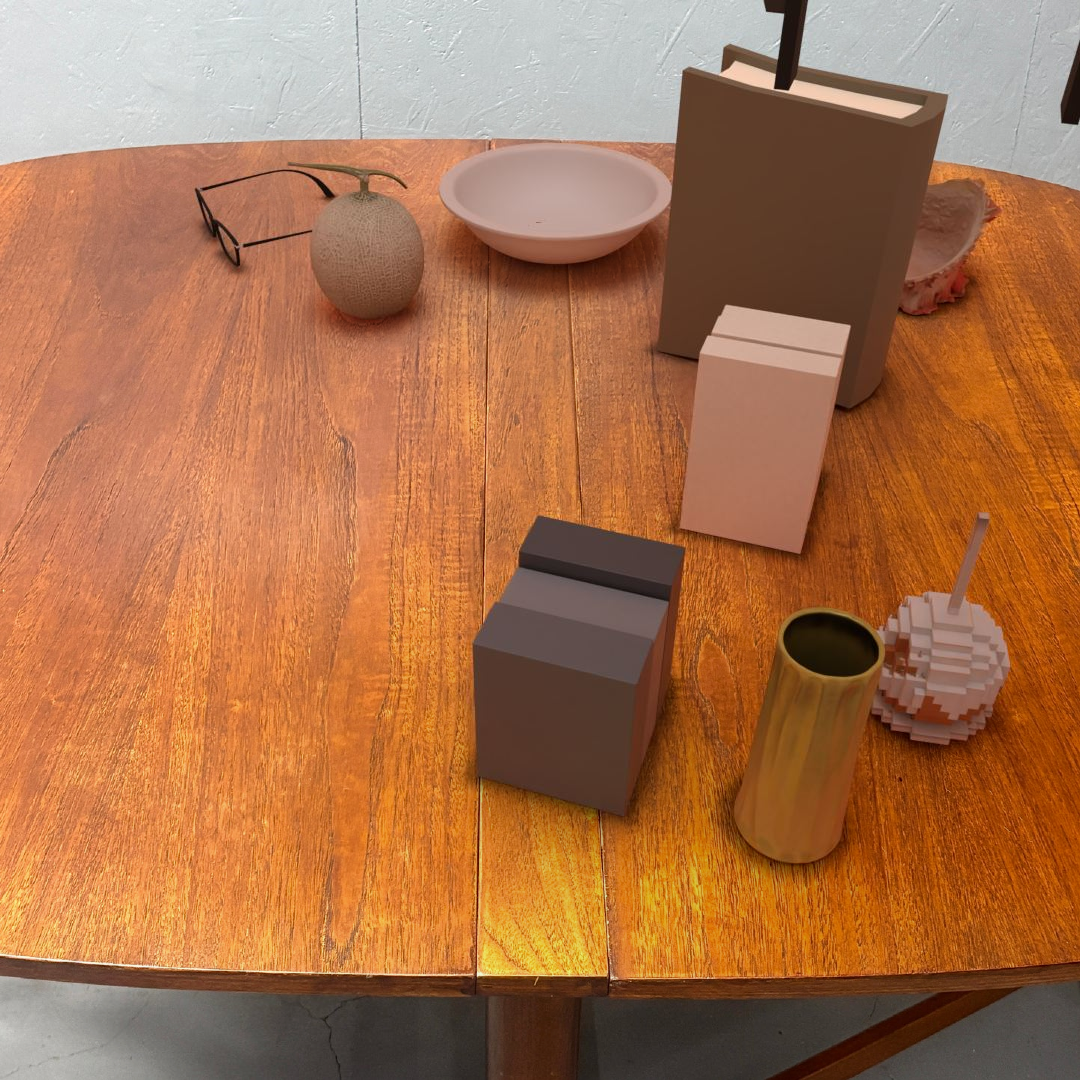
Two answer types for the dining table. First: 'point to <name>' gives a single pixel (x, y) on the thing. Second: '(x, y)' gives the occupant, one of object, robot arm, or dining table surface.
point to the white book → (756, 441)
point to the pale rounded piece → (942, 660)
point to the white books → (786, 339)
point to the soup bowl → (555, 199)
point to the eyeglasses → (216, 225)
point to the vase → (809, 734)
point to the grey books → (576, 663)
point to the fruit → (366, 249)
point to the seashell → (945, 242)
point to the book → (796, 204)
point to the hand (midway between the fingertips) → (922, 98)
